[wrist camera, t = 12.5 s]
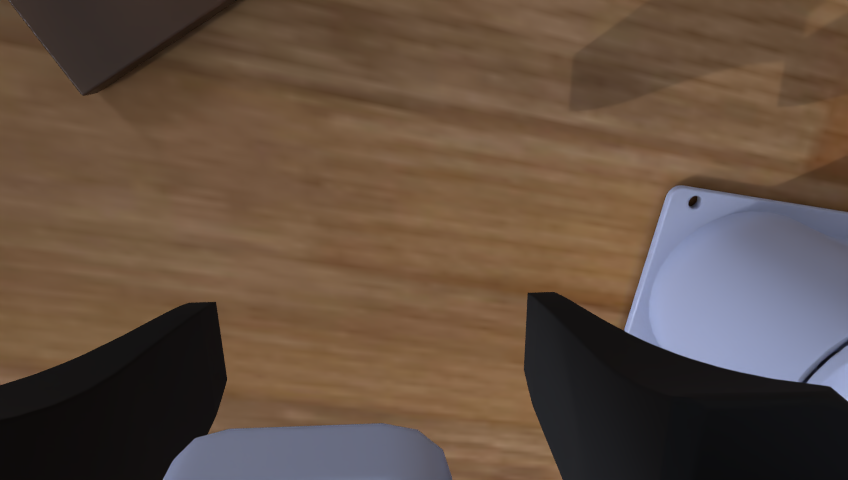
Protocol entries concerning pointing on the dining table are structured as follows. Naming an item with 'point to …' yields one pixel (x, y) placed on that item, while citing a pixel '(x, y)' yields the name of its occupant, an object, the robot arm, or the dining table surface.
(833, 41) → the dining table surface
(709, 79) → the dining table surface
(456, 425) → the dining table surface
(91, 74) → the ring board
